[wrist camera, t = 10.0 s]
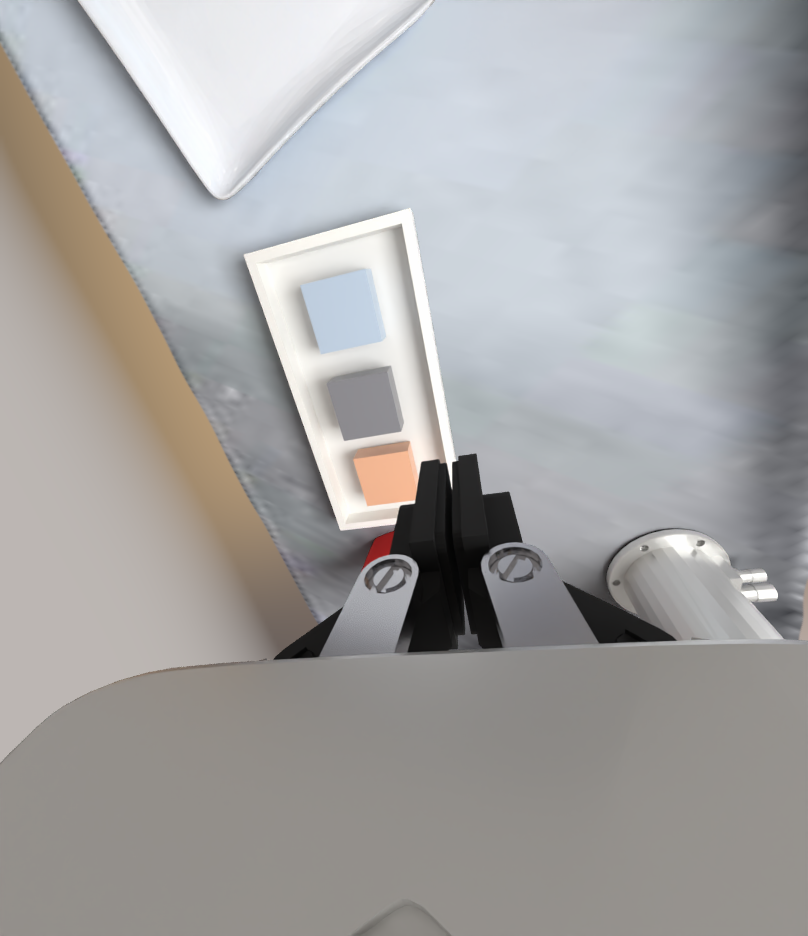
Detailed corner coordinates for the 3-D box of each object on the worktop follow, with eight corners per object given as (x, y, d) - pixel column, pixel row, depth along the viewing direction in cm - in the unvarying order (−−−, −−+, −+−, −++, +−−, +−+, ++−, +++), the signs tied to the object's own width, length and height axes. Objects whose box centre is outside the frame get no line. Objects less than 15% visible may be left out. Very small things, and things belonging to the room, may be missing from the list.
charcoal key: (391, 365, 35) (387, 371, 33) (404, 422, 37) (401, 431, 35) (333, 376, 36) (326, 383, 34) (349, 431, 38) (343, 441, 36)
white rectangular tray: (413, 213, 31) (409, 208, 29) (463, 501, 43) (464, 516, 41) (259, 255, 34) (243, 254, 31) (346, 515, 46) (340, 530, 43)
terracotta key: (410, 441, 39) (407, 450, 37) (420, 487, 41) (419, 499, 39) (358, 449, 40) (353, 459, 38) (371, 494, 42) (367, 506, 40)
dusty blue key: (370, 268, 32) (365, 268, 30) (386, 337, 34) (382, 341, 32) (309, 284, 33) (299, 285, 31) (328, 349, 36) (321, 354, 33)
